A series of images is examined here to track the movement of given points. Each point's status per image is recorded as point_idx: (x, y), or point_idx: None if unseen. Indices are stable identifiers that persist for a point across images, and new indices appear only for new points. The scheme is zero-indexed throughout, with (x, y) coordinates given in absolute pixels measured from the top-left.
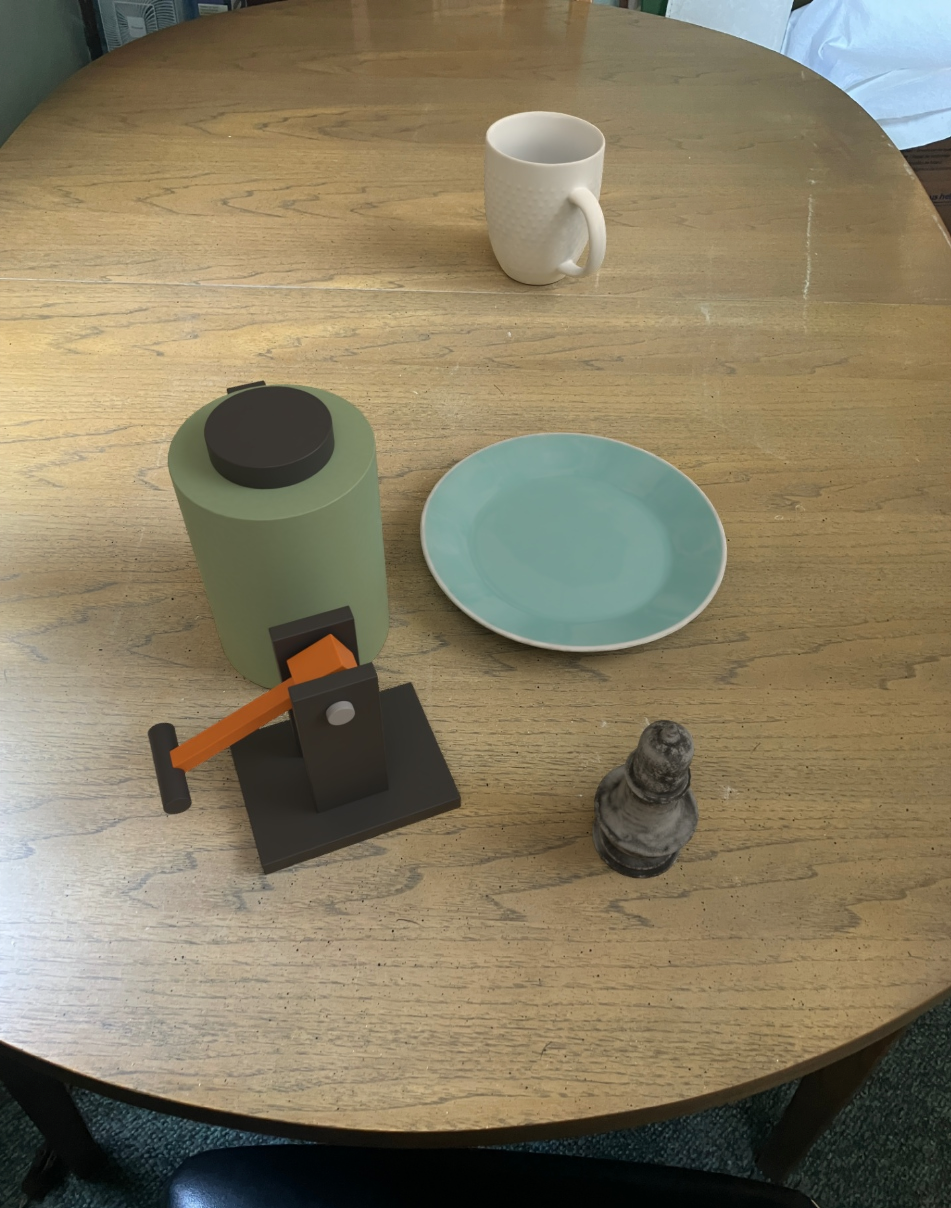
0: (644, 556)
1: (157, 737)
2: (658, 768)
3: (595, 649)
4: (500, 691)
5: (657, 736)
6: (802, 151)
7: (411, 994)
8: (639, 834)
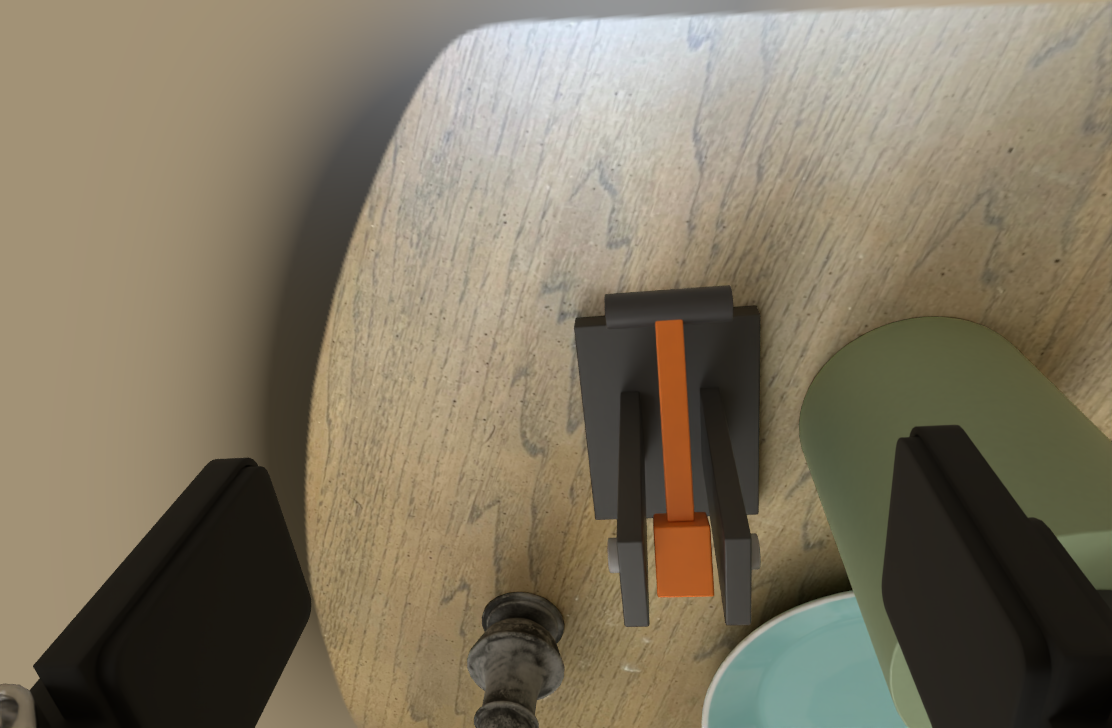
0: None
1: (709, 307)
2: None
3: (710, 687)
4: None
5: None
6: None
7: (421, 420)
8: (486, 659)
